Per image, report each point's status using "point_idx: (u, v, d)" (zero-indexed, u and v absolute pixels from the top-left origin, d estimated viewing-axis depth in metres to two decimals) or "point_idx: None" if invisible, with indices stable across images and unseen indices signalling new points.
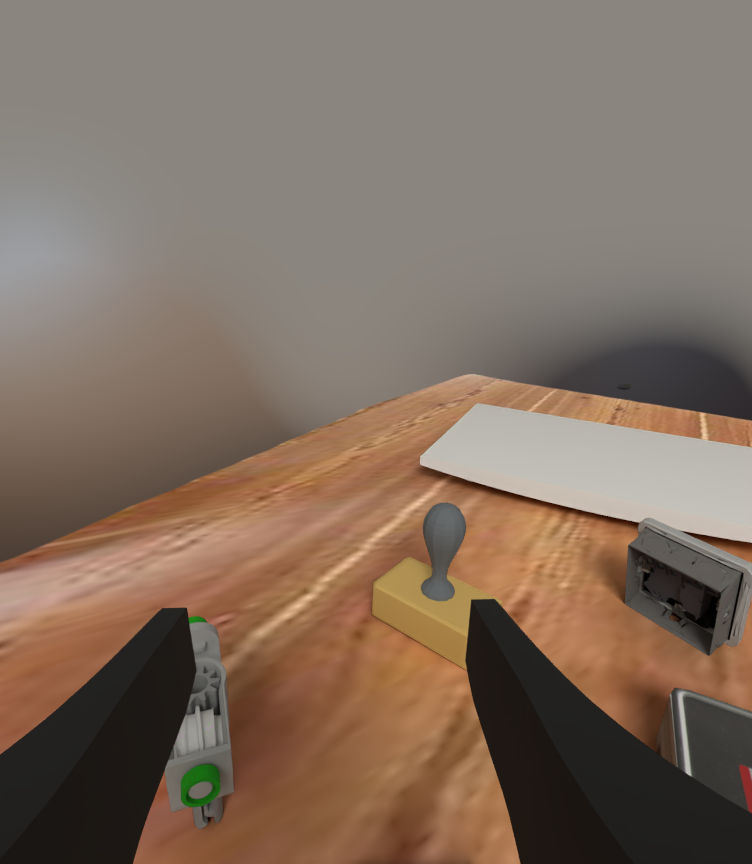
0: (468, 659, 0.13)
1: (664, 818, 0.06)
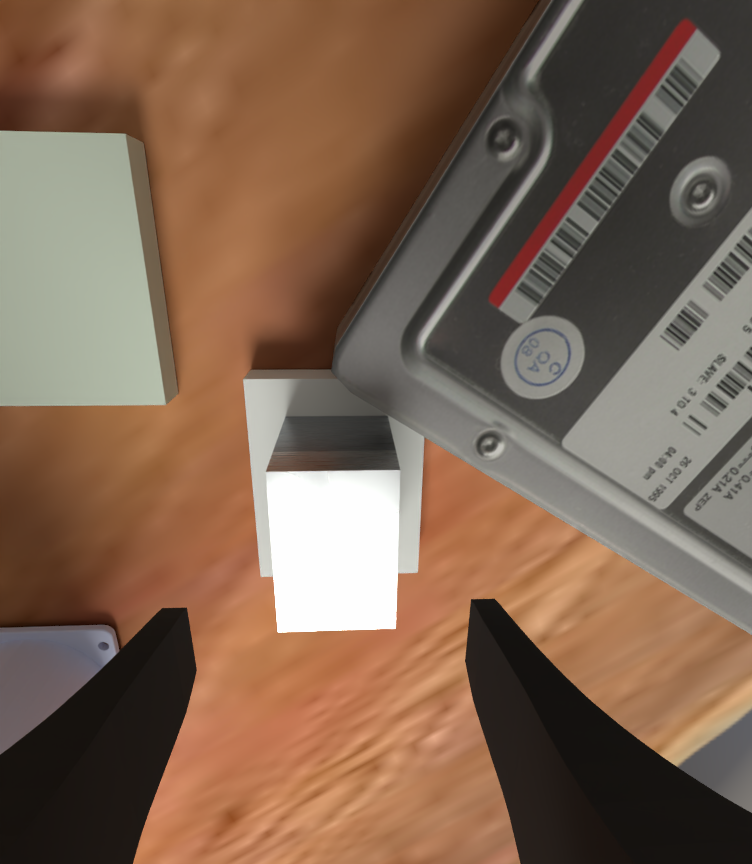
0: (468, 659, 0.13)
1: (664, 818, 0.06)
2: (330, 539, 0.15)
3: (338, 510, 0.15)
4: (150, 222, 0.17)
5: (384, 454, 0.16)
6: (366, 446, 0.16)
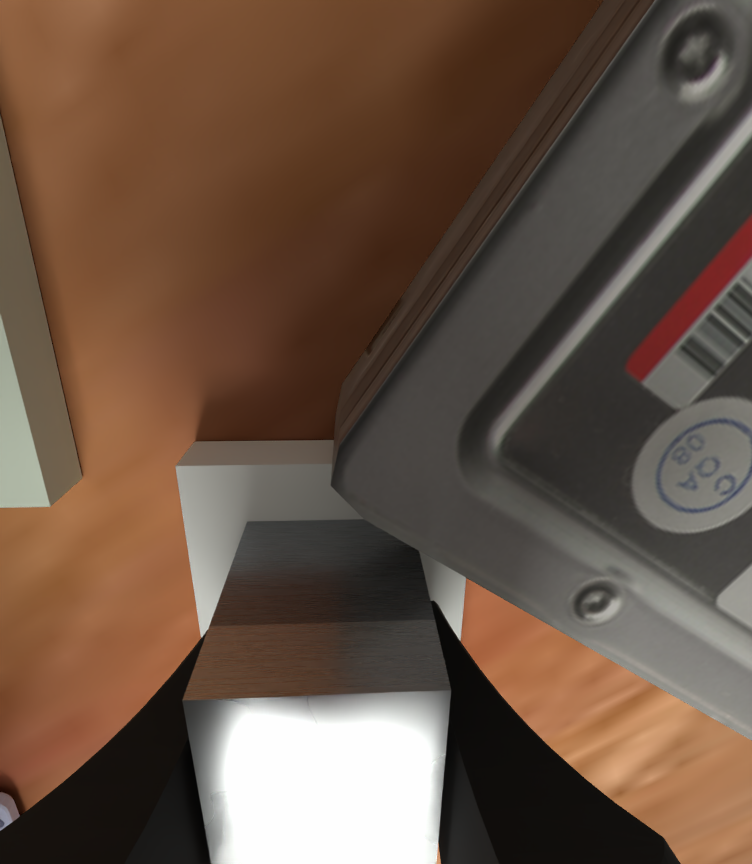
0: None
1: (548, 824, 0.06)
2: (314, 801, 0.08)
3: (329, 757, 0.08)
4: (10, 207, 0.10)
5: (415, 634, 0.09)
6: (381, 608, 0.09)
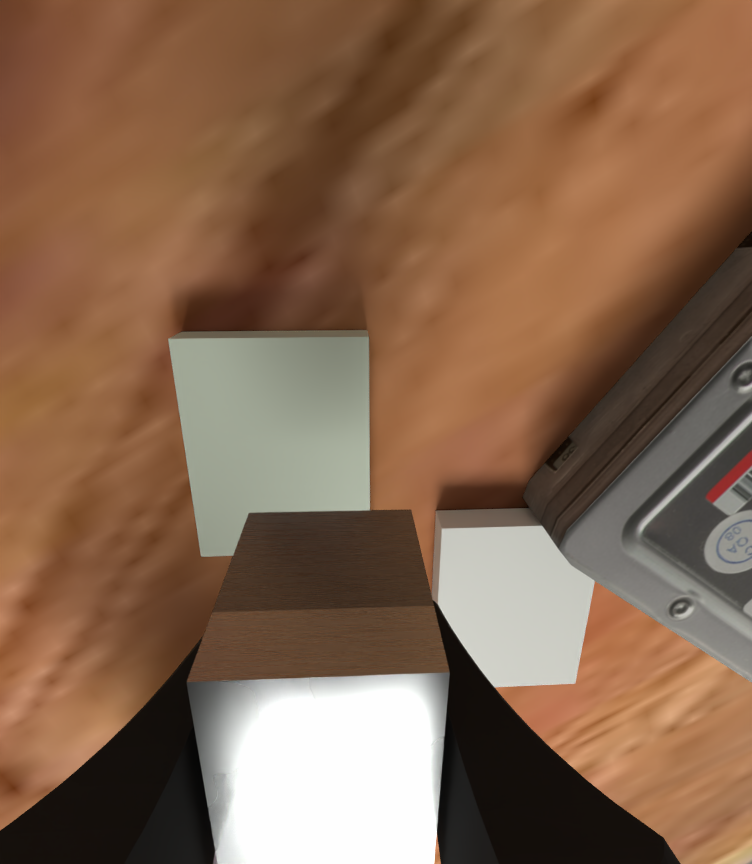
0: None
1: (548, 824, 0.06)
2: (315, 783, 0.08)
3: (330, 739, 0.08)
4: None
5: (414, 619, 0.09)
6: (381, 595, 0.09)
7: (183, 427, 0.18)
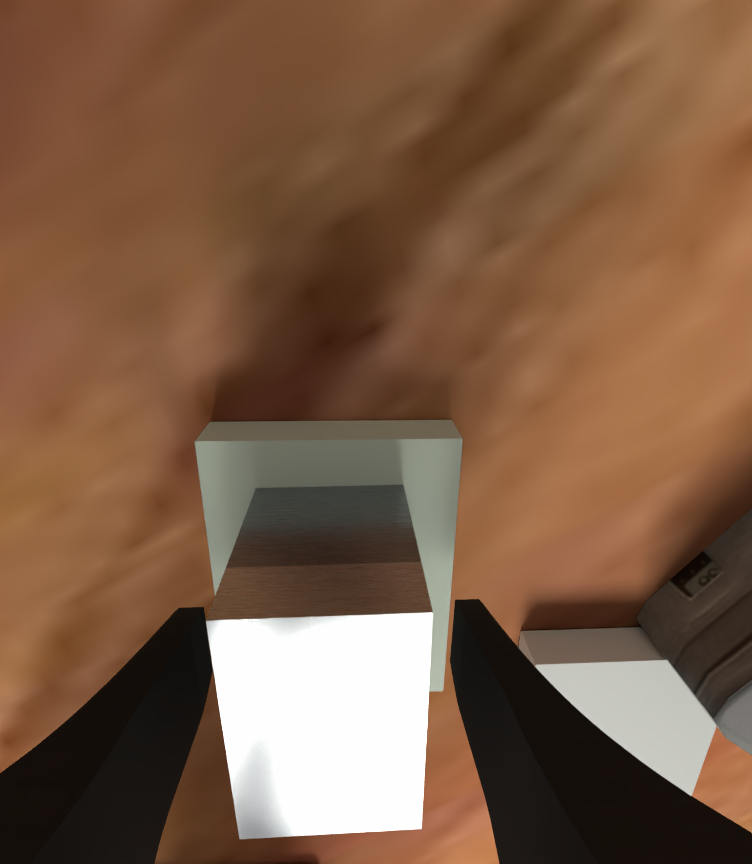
0: (452, 659, 0.13)
1: (634, 820, 0.06)
2: (317, 714, 0.10)
3: (330, 673, 0.09)
4: None
5: (403, 572, 0.10)
6: (375, 553, 0.10)
7: (211, 549, 0.14)
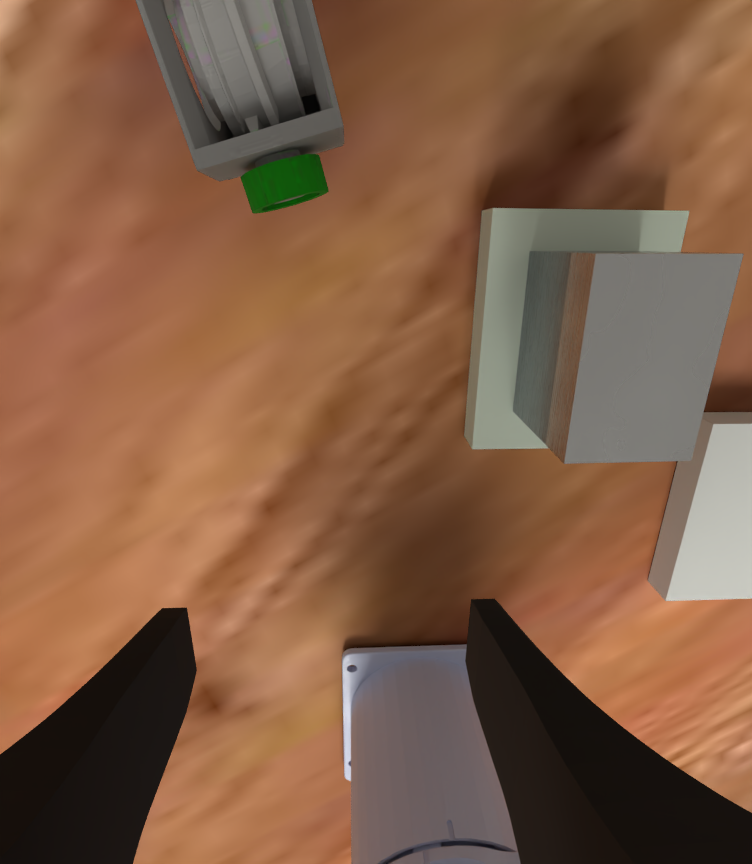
0: (468, 659, 0.13)
1: (664, 818, 0.06)
2: (646, 344, 0.14)
3: (663, 306, 0.13)
4: None
5: None
6: (667, 252, 0.15)
7: (486, 306, 0.18)
